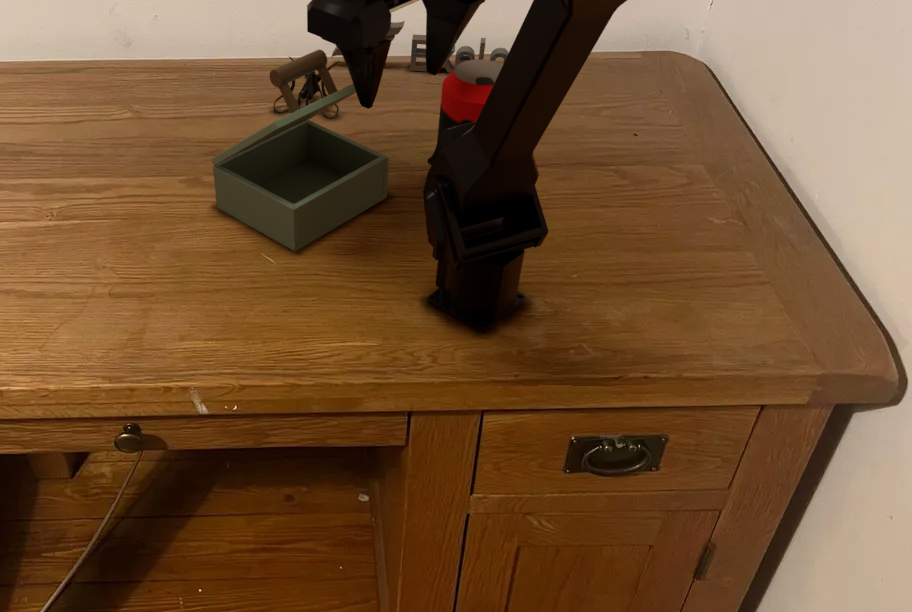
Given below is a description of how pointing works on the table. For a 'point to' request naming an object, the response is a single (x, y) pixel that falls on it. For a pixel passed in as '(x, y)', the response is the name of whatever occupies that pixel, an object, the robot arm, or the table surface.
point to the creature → (309, 89)
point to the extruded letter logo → (459, 57)
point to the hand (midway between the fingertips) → (400, 89)
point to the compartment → (301, 183)
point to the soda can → (466, 92)
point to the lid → (293, 100)
